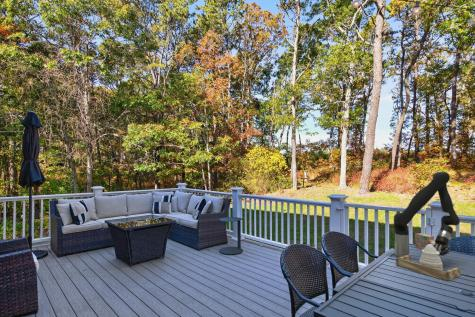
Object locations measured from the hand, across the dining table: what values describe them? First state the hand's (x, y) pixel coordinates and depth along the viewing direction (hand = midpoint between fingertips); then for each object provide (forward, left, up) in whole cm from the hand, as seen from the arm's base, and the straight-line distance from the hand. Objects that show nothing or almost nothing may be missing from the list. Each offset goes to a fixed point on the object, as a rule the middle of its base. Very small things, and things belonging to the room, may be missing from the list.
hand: (435, 258), depth 186 cm
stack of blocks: (+12, +43, -6) cm, 45 cm away
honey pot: (-4, -5, -6) cm, 9 cm away
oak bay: (-8, -8, -6) cm, 12 cm away
